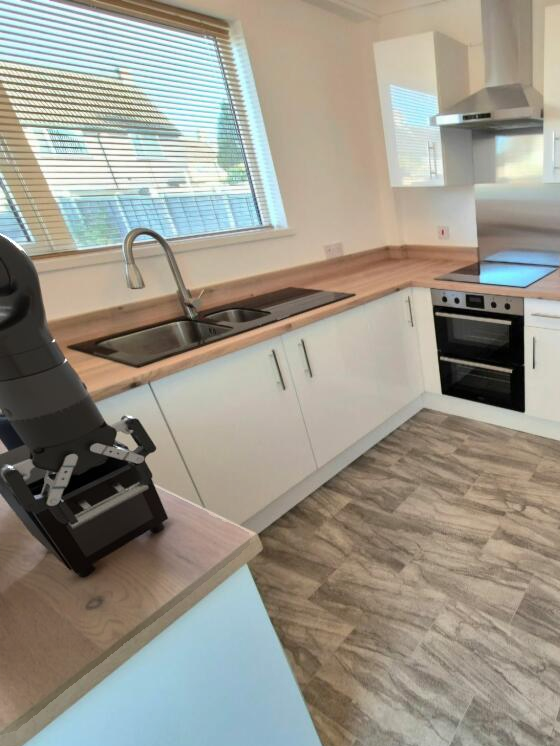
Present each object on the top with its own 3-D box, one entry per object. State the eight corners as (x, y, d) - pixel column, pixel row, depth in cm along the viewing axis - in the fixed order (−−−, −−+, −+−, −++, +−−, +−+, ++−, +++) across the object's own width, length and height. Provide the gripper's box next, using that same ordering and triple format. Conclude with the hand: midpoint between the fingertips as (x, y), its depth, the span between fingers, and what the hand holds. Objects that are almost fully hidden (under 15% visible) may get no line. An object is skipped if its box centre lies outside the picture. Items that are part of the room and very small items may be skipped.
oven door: (181, 530, 73) (159, 473, 65) (89, 588, 63) (49, 529, 55) (165, 515, 74) (140, 458, 66) (72, 570, 64) (31, 511, 57)
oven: (172, 527, 76) (125, 443, 68) (80, 584, 66) (12, 493, 58) (130, 500, 83) (83, 421, 75) (41, 547, 73) (-24, 462, 65)
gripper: (104, 373, 60) (154, 465, 68) (-46, 423, 49) (33, 527, 57) (128, 382, 57) (179, 478, 64) (-27, 438, 46) (55, 546, 53)
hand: (110, 501), depth 60 cm, fingers open, 8 cm apart
